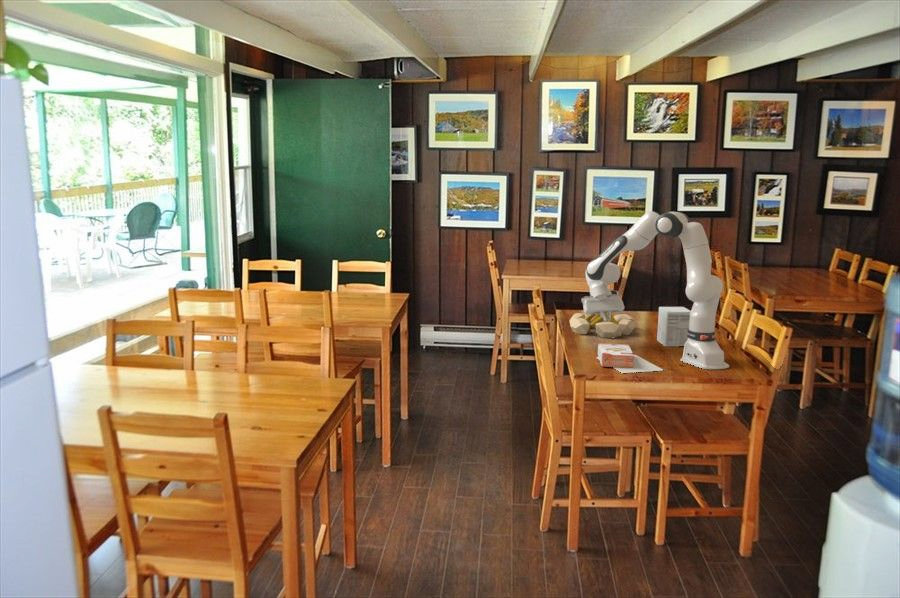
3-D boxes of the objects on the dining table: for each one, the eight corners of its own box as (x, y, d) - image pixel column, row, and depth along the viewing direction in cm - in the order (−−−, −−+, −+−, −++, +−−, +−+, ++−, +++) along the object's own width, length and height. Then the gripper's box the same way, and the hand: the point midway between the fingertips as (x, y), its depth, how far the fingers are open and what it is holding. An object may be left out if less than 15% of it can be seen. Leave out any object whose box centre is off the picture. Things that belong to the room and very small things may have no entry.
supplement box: (691, 346, 376) (693, 312, 373) (664, 346, 376) (667, 312, 372) (681, 340, 389) (684, 306, 386) (656, 340, 389) (658, 306, 385)
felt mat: (664, 371, 334) (664, 370, 334) (622, 373, 329) (622, 372, 329) (635, 355, 358) (635, 354, 358) (596, 357, 354) (596, 357, 353)
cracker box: (628, 343, 355) (634, 355, 335) (627, 355, 357) (633, 368, 336) (597, 342, 357) (602, 354, 336) (597, 354, 358) (601, 367, 337)
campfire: (641, 328, 415) (643, 297, 411) (624, 342, 385) (626, 308, 382) (579, 321, 431) (581, 291, 427) (559, 333, 401) (560, 301, 398)
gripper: (582, 293, 369) (590, 319, 362) (621, 291, 374) (629, 316, 368) (578, 299, 374) (585, 325, 368) (616, 297, 379) (624, 322, 373)
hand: (607, 320), depth 368 cm, fingers closed
